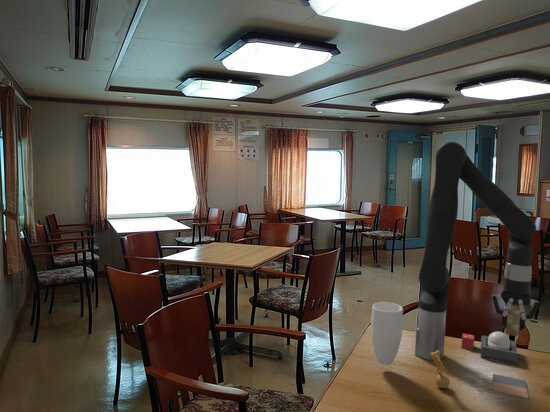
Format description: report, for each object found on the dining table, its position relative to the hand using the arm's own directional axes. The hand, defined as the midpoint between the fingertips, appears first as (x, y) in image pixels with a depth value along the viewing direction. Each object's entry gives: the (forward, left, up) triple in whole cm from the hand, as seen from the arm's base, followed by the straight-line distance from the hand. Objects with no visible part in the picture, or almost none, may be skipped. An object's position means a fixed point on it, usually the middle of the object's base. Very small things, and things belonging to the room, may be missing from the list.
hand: (512, 327), depth 136 cm
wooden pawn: (0, 0, -2) cm, 2 cm away
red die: (-13, +14, -15) cm, 24 cm away
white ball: (-3, +12, -14) cm, 18 cm away
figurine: (-20, -22, -15) cm, 33 cm away
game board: (0, -11, -15) cm, 18 cm away
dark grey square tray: (-3, +12, -15) cm, 19 cm away
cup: (-37, -19, -15) cm, 44 cm away
